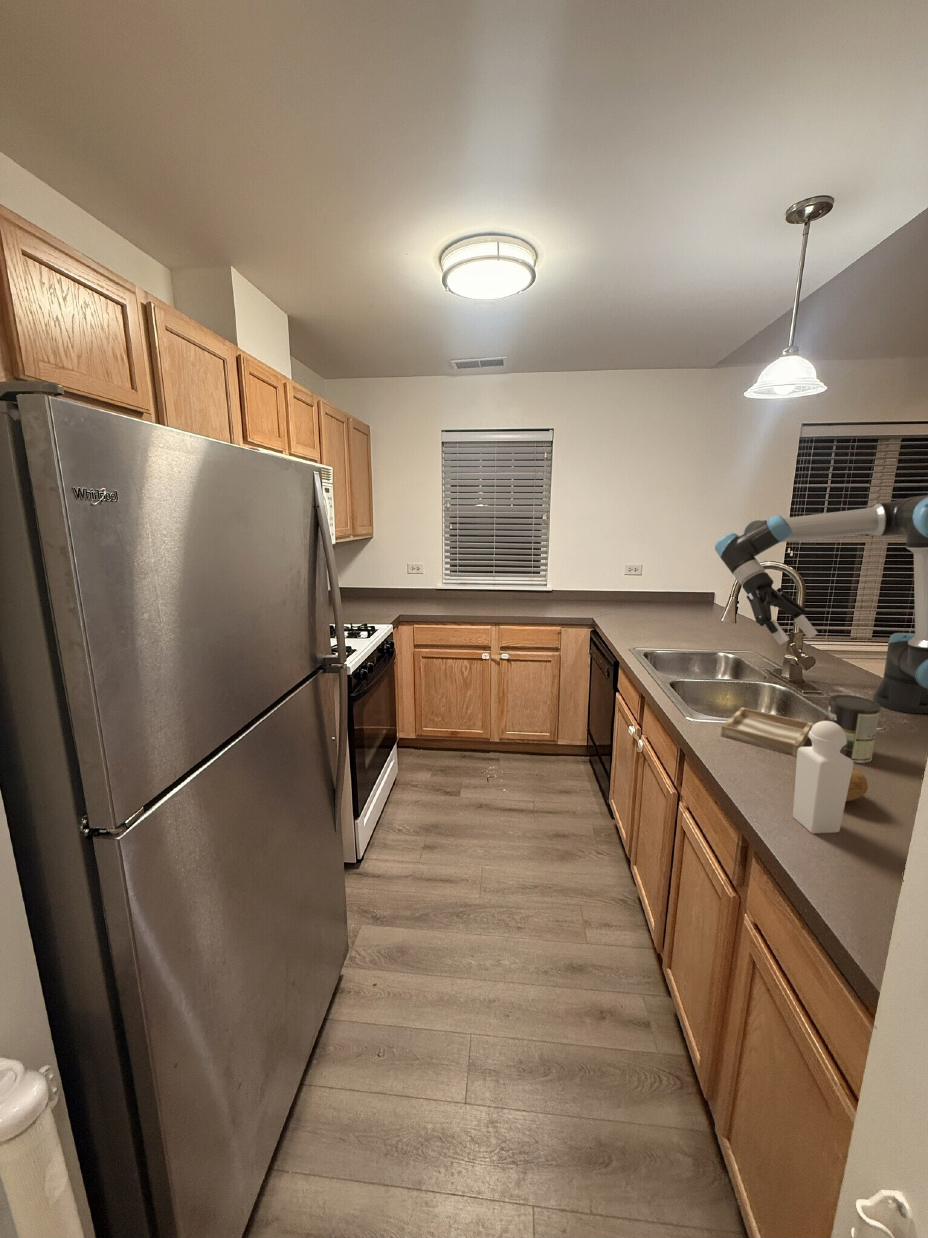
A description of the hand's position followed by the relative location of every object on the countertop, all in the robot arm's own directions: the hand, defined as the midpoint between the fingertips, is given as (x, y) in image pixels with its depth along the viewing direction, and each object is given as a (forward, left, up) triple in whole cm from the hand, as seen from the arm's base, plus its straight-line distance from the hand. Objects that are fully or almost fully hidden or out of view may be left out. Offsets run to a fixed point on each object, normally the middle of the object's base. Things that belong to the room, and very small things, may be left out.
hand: (799, 639), depth 138 cm
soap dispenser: (+49, +15, -26) cm, 57 cm away
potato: (+34, +15, -26) cm, 45 cm away
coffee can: (+9, +15, -26) cm, 31 cm away
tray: (+10, -3, -26) cm, 28 cm away
